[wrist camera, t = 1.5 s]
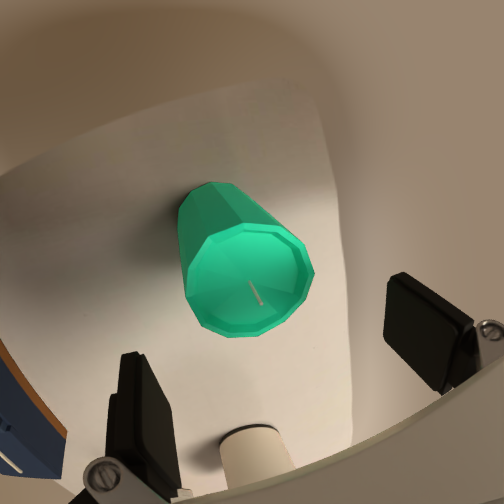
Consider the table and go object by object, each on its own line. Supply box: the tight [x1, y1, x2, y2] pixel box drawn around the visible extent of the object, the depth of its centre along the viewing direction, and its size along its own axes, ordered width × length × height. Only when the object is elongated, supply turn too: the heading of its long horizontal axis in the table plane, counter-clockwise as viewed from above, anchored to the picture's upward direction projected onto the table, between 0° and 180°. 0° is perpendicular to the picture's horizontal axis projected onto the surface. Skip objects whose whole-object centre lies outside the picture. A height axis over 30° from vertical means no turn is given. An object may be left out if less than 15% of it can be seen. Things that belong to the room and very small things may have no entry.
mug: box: [219, 424, 296, 489], centre depth 31 cm, size 11×9×10 cm
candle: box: [177, 182, 315, 338], centre depth 18 cm, size 6×6×12 cm
